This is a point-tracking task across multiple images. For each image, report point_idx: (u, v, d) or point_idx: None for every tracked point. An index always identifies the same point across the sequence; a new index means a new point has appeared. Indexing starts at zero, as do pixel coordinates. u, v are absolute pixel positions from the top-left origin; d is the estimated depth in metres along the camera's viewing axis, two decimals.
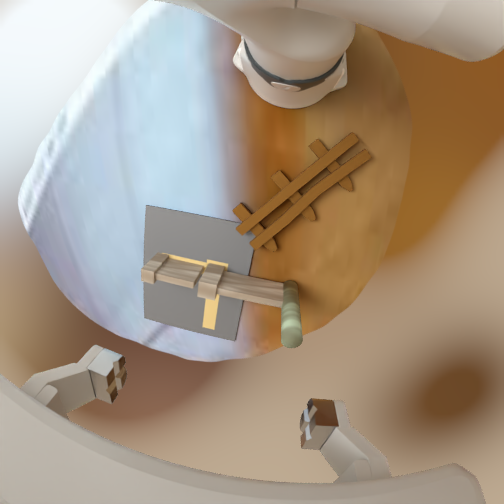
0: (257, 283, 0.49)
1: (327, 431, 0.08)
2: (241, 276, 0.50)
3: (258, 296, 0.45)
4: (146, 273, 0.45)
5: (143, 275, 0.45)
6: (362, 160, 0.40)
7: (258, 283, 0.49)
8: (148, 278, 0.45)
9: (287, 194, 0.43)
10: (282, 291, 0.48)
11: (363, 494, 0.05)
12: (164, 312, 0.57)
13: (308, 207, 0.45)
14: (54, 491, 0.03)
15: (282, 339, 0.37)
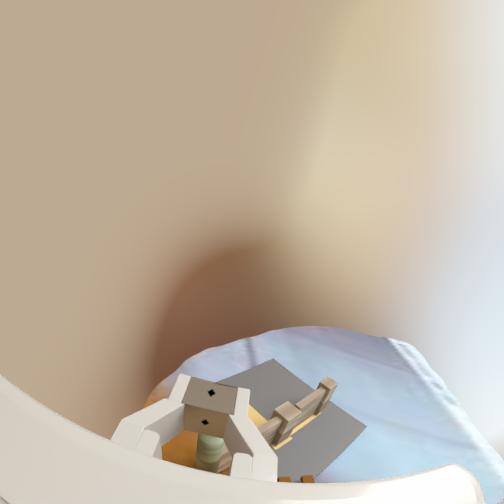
0: None
1: (221, 418, 0.09)
2: None
3: None
4: (331, 383, 0.42)
5: (331, 381, 0.43)
6: None
7: None
8: (327, 382, 0.42)
9: None
10: (218, 465, 0.28)
11: (363, 494, 0.05)
12: (267, 374, 0.53)
13: None
14: (54, 491, 0.03)
15: None
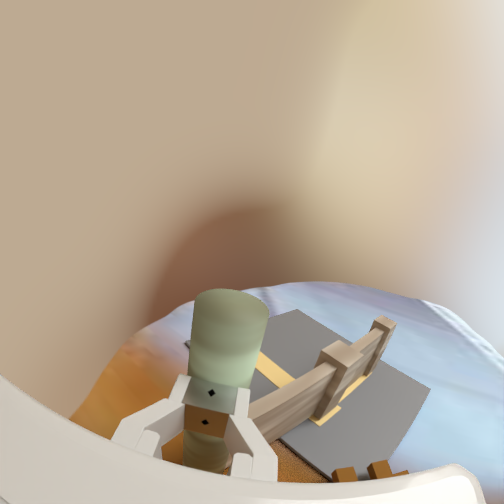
0: (272, 433, 0.18)
1: (222, 418, 0.09)
2: (292, 425, 0.21)
3: (282, 404, 0.17)
4: (389, 322, 0.30)
5: (388, 320, 0.30)
6: None
7: (270, 434, 0.18)
8: (383, 320, 0.30)
9: None
10: (228, 452, 0.15)
11: (363, 494, 0.05)
12: (291, 325, 0.40)
13: None
14: (54, 491, 0.03)
15: (254, 299, 0.12)
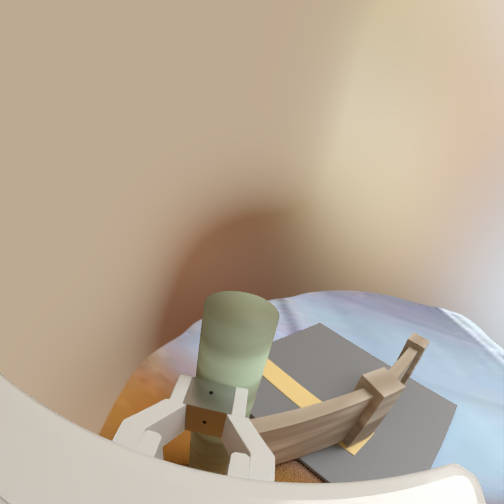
0: (290, 451, 0.17)
1: (219, 417, 0.09)
2: (316, 448, 0.18)
3: (302, 423, 0.15)
4: (422, 341, 0.26)
5: (420, 338, 0.26)
6: None
7: (287, 452, 0.17)
8: (416, 339, 0.26)
9: None
10: None
11: (363, 494, 0.05)
12: (316, 342, 0.37)
13: None
14: (54, 491, 0.03)
15: (270, 305, 0.11)
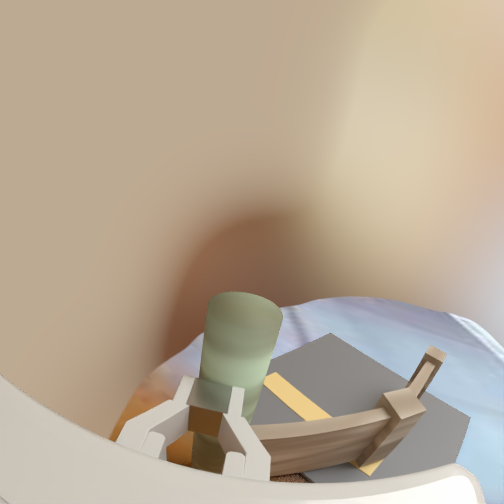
0: (296, 463, 0.16)
1: (215, 417, 0.09)
2: (326, 464, 0.17)
3: (310, 436, 0.14)
4: (440, 354, 0.23)
5: (437, 351, 0.24)
6: None
7: (294, 464, 0.15)
8: (433, 352, 0.23)
9: None
10: None
11: (363, 494, 0.05)
12: (327, 354, 0.34)
13: None
14: (54, 491, 0.03)
15: (276, 309, 0.11)
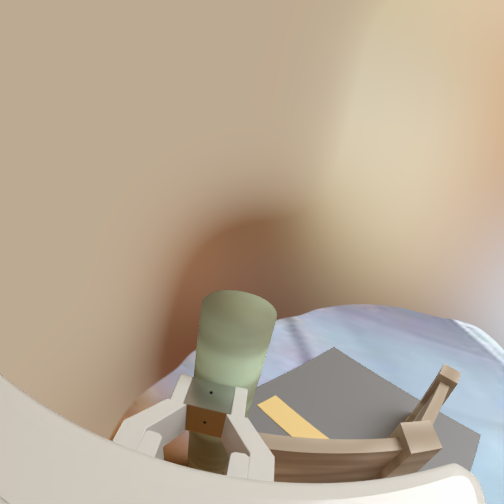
0: (293, 480, 0.14)
1: (219, 417, 0.09)
2: None
3: (307, 454, 0.13)
4: (454, 373, 0.20)
5: (451, 370, 0.20)
6: None
7: (291, 480, 0.14)
8: (447, 372, 0.20)
9: None
10: None
11: (363, 494, 0.05)
12: (331, 372, 0.30)
13: None
14: (54, 491, 0.03)
15: (272, 312, 0.11)
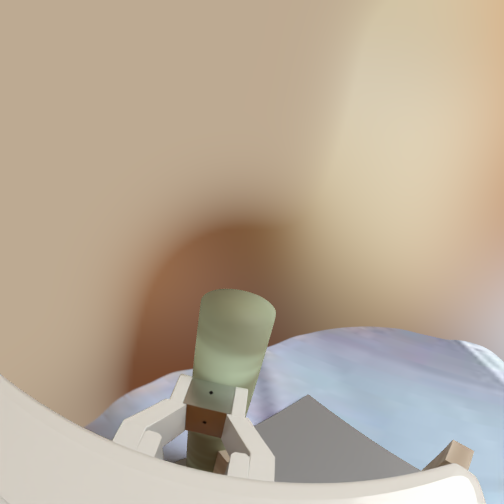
0: None
1: (219, 417, 0.09)
2: None
3: None
4: (465, 455, 0.10)
5: (462, 449, 0.11)
6: None
7: None
8: (456, 455, 0.10)
9: None
10: None
11: (363, 494, 0.05)
12: (299, 434, 0.21)
13: None
14: (54, 491, 0.03)
15: (262, 322, 0.10)
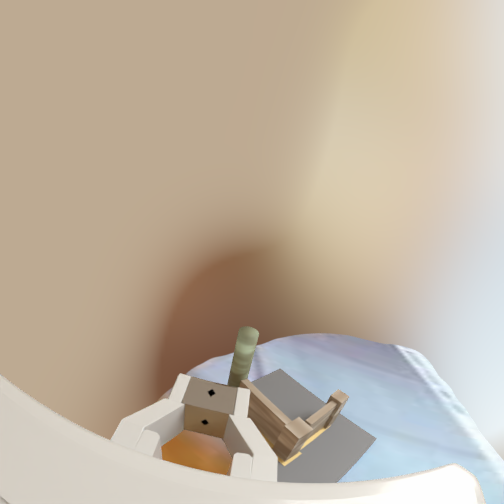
0: (253, 415, 0.39)
1: (222, 418, 0.09)
2: (263, 431, 0.37)
3: (257, 397, 0.38)
4: (342, 396, 0.39)
5: (342, 394, 0.40)
6: None
7: (252, 414, 0.39)
8: (338, 395, 0.39)
9: None
10: None
11: (363, 494, 0.05)
12: (274, 385, 0.50)
13: None
14: (54, 491, 0.03)
15: (255, 336, 0.39)
